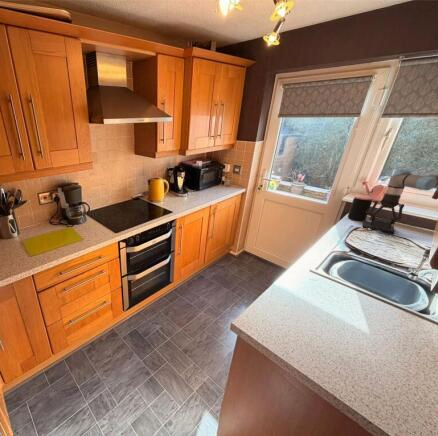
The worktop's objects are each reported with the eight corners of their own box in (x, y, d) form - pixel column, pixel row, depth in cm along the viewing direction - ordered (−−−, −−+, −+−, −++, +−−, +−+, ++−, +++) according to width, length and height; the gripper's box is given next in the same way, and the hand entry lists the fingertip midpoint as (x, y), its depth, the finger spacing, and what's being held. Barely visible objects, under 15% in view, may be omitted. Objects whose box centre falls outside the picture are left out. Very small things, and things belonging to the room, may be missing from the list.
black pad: (388, 230, 149) (391, 223, 147) (371, 227, 154) (374, 220, 152) (387, 225, 156) (390, 218, 155) (371, 222, 161) (374, 215, 160)
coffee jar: (366, 222, 173) (374, 199, 166) (348, 220, 178) (355, 197, 172) (363, 218, 181) (371, 196, 175) (346, 215, 187) (353, 194, 180)
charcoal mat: (393, 234, 153) (394, 231, 153) (362, 228, 163) (362, 225, 163) (392, 228, 163) (393, 225, 162) (362, 222, 173) (363, 220, 172)
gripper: (416, 195, 142) (401, 229, 150) (370, 190, 155) (359, 221, 163) (417, 198, 136) (402, 232, 145) (370, 192, 150) (359, 224, 158)
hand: (379, 226), depth 154 cm, fingers closed on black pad, 8 cm apart
